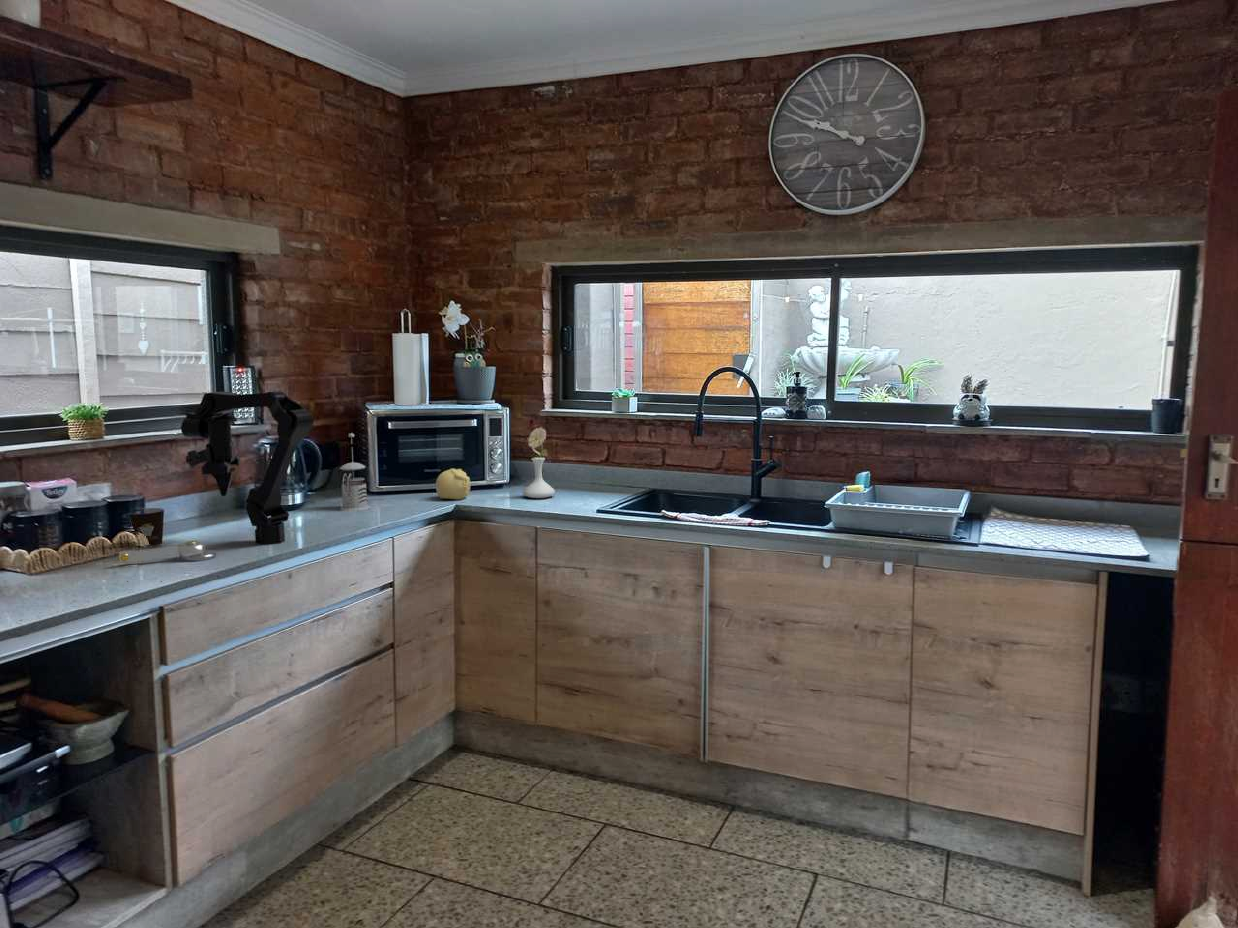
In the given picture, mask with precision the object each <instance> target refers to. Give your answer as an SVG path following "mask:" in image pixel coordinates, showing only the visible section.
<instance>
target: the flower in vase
mask: <svg viewBox="0 0 1238 928" xmlns="http://www.w3.org/2000/svg"><path fill="white" fill-rule="evenodd" d="M546 436H547V431H546V430H545V428H543V427H541V426H540V427H539V428H538V427H537V428H535V429H533V431H532V432H530V435H529V436H528V446H529V447H530V448H531V449H532V451H533V452H534V453H536V454H537V455H539V457H532V458H530V459H531V461H532V462H533V466H534V473H535V477H534V480H533V481H532V482H531V483H530V484H528V485H527V486H526V487H525V488H524V490H523V491H522V494H523V496H525V497H527V498H532V499H537V498H538V499H542V498H543V499H545V498H549V497H552V496H554V495H555V493H556V491H555V489H554V488H553V486H551V485H549V484H548V483H547V482H546V481H545V480H544V479H543V475H542V473H543V471H542V470H543V465H544V461H546V458H545V456H549V454H548V452H547V449H546V448H545V449H544V447H543V446H544V445H543V443H544V442H545V440H546V439H547V437H546ZM539 447H541V452H539V451H537V450H536V448H539ZM541 456H542V457H541Z"/></svg>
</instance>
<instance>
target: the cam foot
mask: <svg viewBox="0 0 1238 928" xmlns="http://www.w3.org/2000/svg"><path fill="white" fill-rule="evenodd" d="M177 557H178V561H179V562H203V561H207V560H208V561H209V560H212V559H214V558H217V551H216V550H213V549H206V543H205V542H204V541H196V540H190V541H186V542H183V543H179V544H178V545H168V546H167V545H166V546H159V547H150V548H141V549H132V550H123V551H119V552H118V560H119V564H126V563H135V562H142V561H151V560H152V561H153V560H159V559H167V558H177Z"/></svg>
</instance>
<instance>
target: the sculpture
mask: <svg viewBox="0 0 1238 928" xmlns="http://www.w3.org/2000/svg"><path fill="white" fill-rule="evenodd" d="M435 482H436V483H435V489H436V493H437V496H439V498H440V499H446V500H463V499H465V498H466V497H468V495H469V493H470V490H471V489H472V488H471V485H472V483H471V479H470V477H469V476H467V472H465V471H463V470H462V468H457V469H456V468H454V467H453V468H450V469H447V470H444V471H443V472H441V473H440V474H439V475H438V477H437V478H436V481H435Z"/></svg>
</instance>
